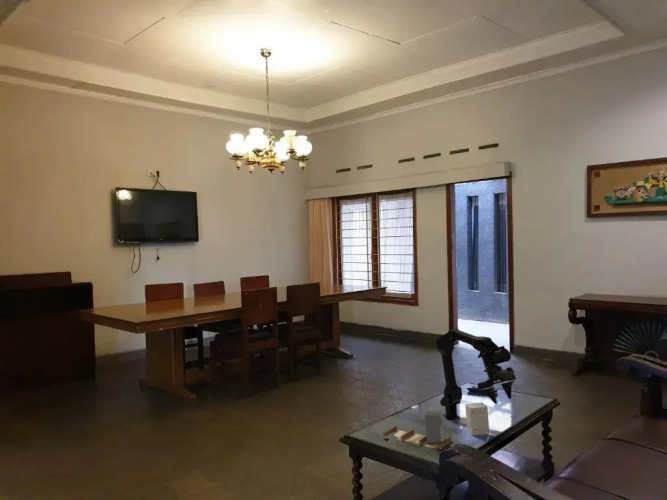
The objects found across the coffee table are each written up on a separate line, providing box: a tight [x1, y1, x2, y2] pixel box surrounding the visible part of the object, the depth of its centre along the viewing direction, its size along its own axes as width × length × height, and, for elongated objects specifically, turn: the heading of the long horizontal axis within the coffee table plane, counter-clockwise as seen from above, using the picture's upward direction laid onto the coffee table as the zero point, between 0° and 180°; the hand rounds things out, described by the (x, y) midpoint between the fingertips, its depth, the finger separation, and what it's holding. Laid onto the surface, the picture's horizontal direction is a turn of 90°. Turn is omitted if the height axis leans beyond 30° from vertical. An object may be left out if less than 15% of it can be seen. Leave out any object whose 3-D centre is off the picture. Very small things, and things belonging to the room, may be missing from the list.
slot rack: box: [383, 424, 452, 450], centre depth 224 cm, size 28×10×3 cm, turn 51°
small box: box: [465, 402, 490, 437], centre depth 227 cm, size 8×6×13 cm
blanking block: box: [424, 411, 444, 445], centre depth 218 cm, size 6×4×12 cm, turn 66°
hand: (503, 401), depth 222 cm, fingers open, 9 cm apart
